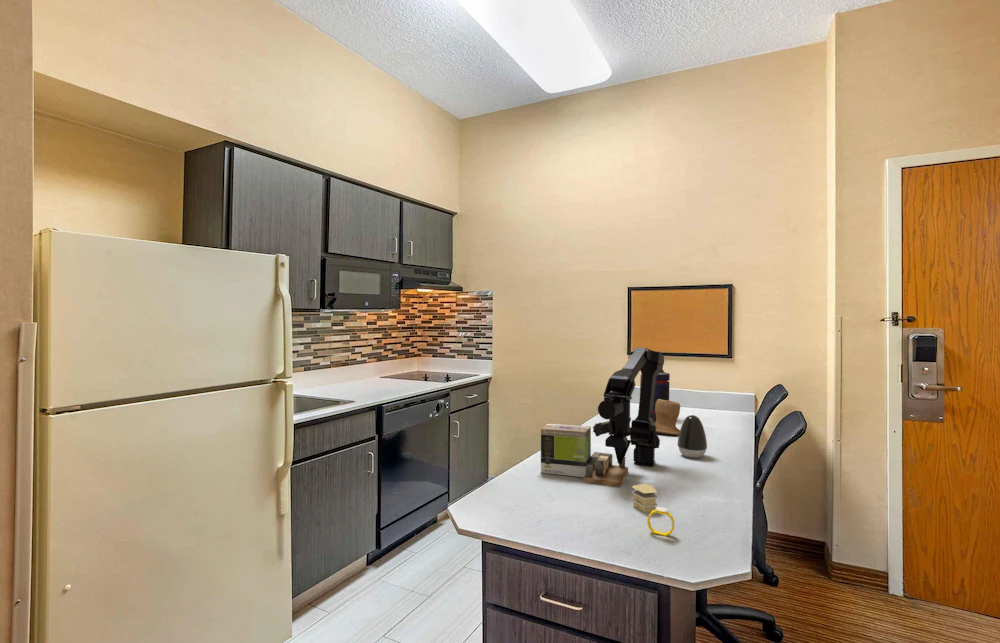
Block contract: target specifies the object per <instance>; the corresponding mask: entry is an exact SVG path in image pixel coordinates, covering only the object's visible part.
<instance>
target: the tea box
mask: <svg viewBox="0 0 1000 643" xmlns="http://www.w3.org/2000/svg"><path fill="white" fill-rule="evenodd" d="M591 429H592V428H591V426H590V425H576V424H575V425H573V424H564V423H563V424H562V423H547V424H545V425H544V426H543V427H542V428H540V473H541V474H550V475H557V476H558V475H559V476H560V475H561V476H566V477H567V476H569V477H578V478H584V476H585V475H586V465H588V464H590V459H591V456H592V451H591V449H592V447H591V446H592V443H591V442H592V440H591V438H592V437H591V435H592V433H591Z"/></svg>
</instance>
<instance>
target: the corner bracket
mask: <svg viewBox="0 0 1000 643" xmlns="http://www.w3.org/2000/svg"><path fill="white" fill-rule="evenodd" d="M600 455H601V456H609V466H608V467H612V465H613V458H614V457H613V453H607V452H599V451H594V452H593V453H591V459H590V465H593V469H594V470H595V463H596V461H597V460H598V458H599V456H600Z"/></svg>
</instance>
